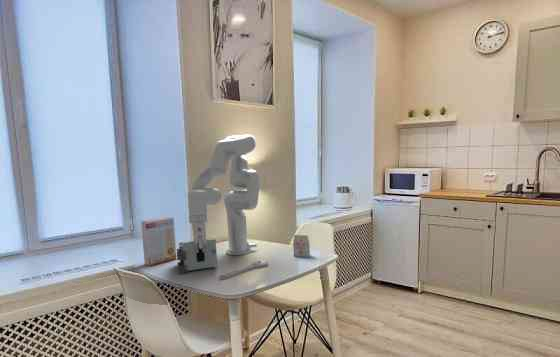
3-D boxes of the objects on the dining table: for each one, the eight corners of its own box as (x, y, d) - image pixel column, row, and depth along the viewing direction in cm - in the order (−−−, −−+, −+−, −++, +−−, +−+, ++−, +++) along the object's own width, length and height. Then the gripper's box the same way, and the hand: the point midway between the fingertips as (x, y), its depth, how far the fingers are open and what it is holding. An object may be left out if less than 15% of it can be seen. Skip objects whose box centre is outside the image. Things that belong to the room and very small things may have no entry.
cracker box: (171, 257, 172) (168, 216, 171) (177, 259, 168) (174, 217, 167) (143, 264, 162) (140, 220, 161) (149, 266, 158) (146, 221, 157)
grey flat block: (216, 264, 152) (214, 238, 152) (217, 266, 149) (215, 239, 148) (184, 269, 148) (182, 242, 148) (184, 272, 145) (182, 244, 144)
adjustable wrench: (221, 281, 134) (221, 277, 134) (213, 278, 139) (213, 273, 139) (270, 266, 151) (269, 262, 151) (261, 263, 156) (260, 259, 156)
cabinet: (212, 259, 164) (211, 239, 164) (216, 269, 149) (215, 246, 148) (177, 264, 160) (176, 243, 159) (178, 274, 144) (176, 251, 144)
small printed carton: (297, 254, 167) (296, 234, 167) (309, 255, 164) (309, 234, 164) (293, 256, 164) (293, 235, 163) (306, 257, 161) (306, 236, 160)
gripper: (208, 220, 142) (211, 264, 143) (205, 215, 157) (207, 254, 158) (190, 222, 139) (192, 266, 140) (188, 216, 155) (190, 256, 156)
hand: (200, 260), depth 149 cm, fingers closed on grey flat block, 2 cm apart
